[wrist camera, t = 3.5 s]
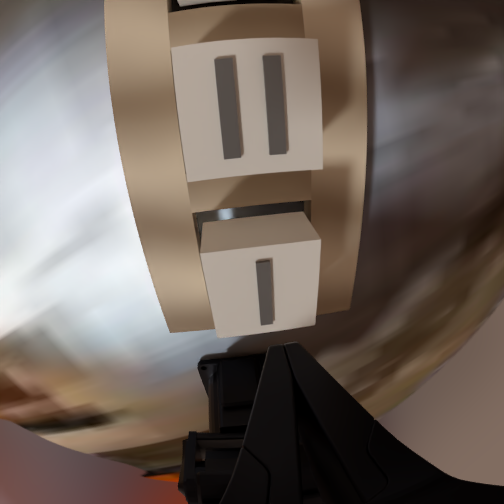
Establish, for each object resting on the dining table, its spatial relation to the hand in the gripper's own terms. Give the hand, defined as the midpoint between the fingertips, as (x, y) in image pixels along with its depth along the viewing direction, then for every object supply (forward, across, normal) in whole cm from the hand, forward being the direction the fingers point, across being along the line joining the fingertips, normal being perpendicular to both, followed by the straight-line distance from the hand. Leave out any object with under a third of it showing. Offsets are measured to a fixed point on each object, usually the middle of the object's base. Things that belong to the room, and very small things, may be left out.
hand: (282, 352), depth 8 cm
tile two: (+8, 0, -6) cm, 10 cm away
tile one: (+8, 0, +2) cm, 8 cm away
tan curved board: (+9, 0, -6) cm, 11 cm away
